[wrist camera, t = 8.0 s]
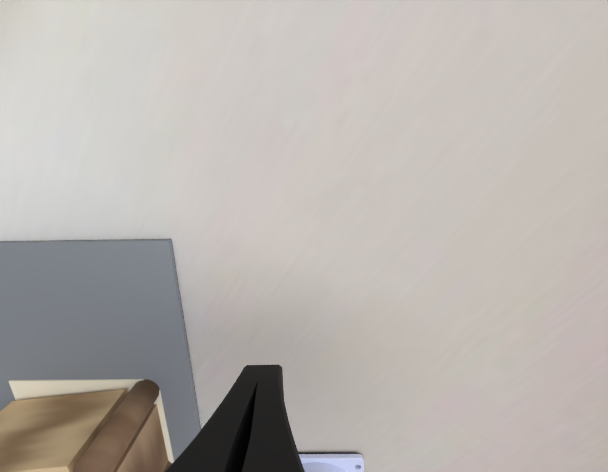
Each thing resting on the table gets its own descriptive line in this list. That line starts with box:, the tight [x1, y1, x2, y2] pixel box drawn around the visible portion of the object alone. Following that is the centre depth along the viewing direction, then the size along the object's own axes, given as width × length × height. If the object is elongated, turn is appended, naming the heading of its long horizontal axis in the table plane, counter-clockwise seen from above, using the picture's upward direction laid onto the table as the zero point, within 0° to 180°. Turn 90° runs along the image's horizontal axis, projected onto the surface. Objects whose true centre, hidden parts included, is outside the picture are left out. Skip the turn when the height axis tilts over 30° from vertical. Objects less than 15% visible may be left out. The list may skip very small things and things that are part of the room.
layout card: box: [0, 239, 201, 463], centre depth 22 cm, size 21×16×1 cm
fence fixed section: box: [73, 379, 172, 472], centre depth 20 cm, size 10×2×6 cm, turn 1°
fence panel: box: [0, 389, 127, 472], centre depth 19 cm, size 9×1×6 cm, turn 98°
